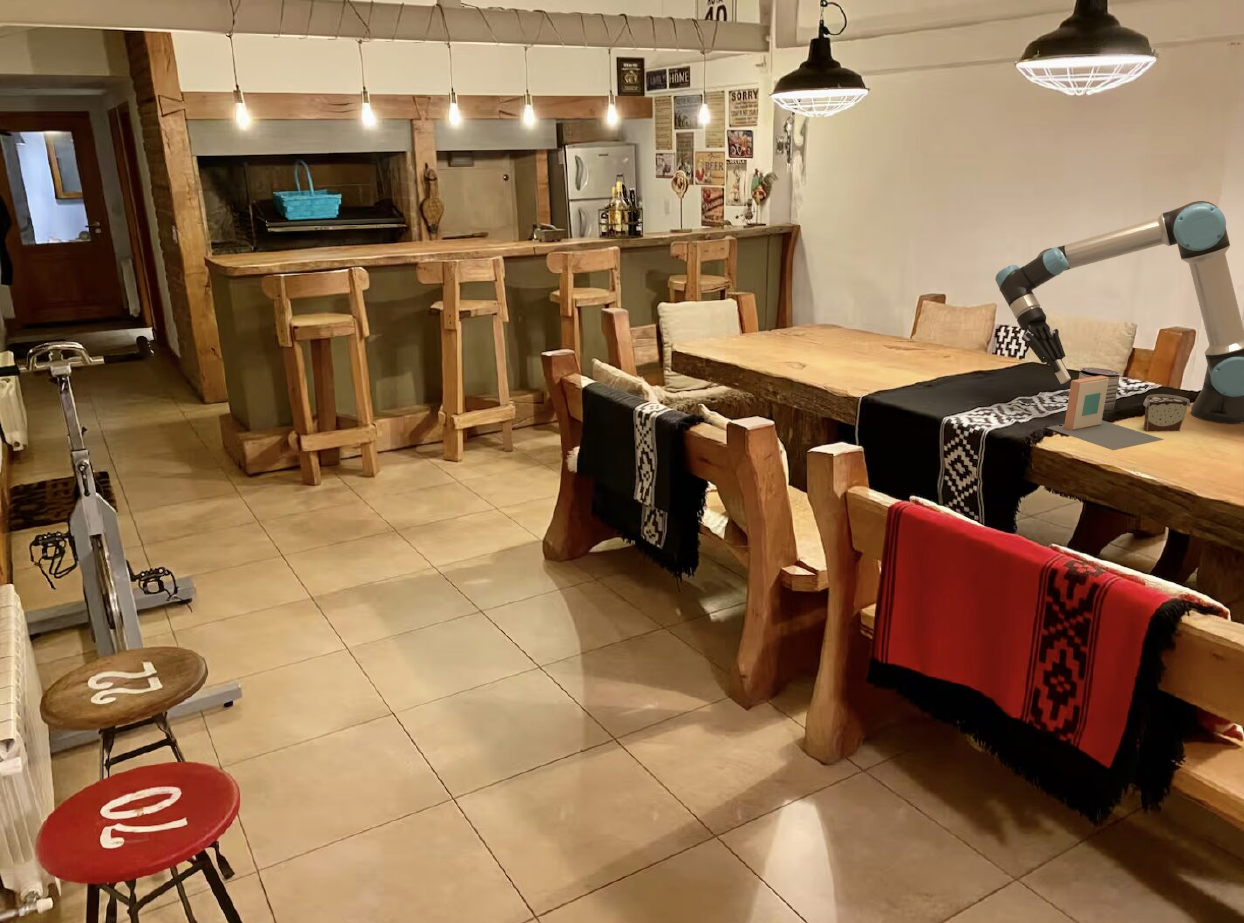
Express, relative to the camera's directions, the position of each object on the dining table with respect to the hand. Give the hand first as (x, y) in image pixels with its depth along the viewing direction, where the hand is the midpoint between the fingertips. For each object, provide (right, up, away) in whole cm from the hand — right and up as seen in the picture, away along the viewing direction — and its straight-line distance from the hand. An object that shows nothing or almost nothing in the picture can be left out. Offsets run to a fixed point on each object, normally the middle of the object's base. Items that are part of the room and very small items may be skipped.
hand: (1065, 381), depth 268 cm
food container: (+24, -15, -4) cm, 28 cm away
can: (+17, -7, +18) cm, 26 cm away
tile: (+4, -13, -2) cm, 14 cm away
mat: (+7, -16, -8) cm, 19 cm away
